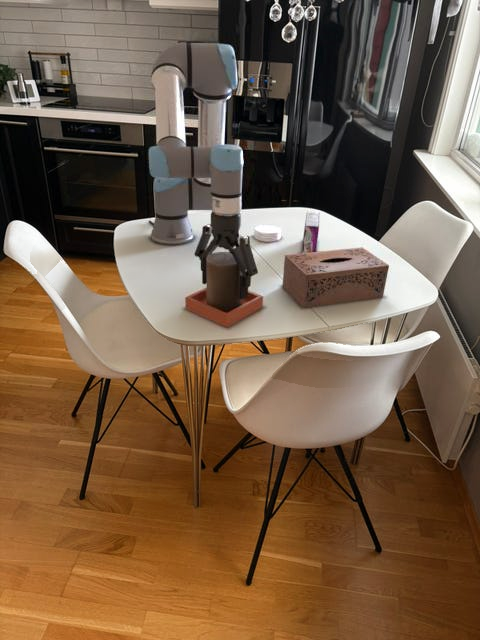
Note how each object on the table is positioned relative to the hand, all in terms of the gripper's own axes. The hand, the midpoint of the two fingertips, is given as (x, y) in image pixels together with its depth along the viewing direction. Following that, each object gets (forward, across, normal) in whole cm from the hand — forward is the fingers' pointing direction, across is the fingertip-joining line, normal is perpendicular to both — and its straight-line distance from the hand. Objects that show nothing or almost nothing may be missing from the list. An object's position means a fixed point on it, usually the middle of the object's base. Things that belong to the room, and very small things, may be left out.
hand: (224, 289), depth 130 cm
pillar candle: (+5, 0, 0) cm, 5 cm away
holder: (+6, 0, 0) cm, 6 cm away
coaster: (+6, -25, +53) cm, 59 cm away
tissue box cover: (+6, +17, +30) cm, 34 cm away
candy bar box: (0, -3, +47) cm, 47 cm away
